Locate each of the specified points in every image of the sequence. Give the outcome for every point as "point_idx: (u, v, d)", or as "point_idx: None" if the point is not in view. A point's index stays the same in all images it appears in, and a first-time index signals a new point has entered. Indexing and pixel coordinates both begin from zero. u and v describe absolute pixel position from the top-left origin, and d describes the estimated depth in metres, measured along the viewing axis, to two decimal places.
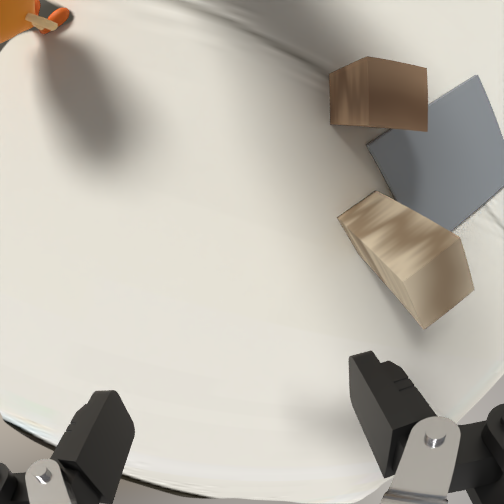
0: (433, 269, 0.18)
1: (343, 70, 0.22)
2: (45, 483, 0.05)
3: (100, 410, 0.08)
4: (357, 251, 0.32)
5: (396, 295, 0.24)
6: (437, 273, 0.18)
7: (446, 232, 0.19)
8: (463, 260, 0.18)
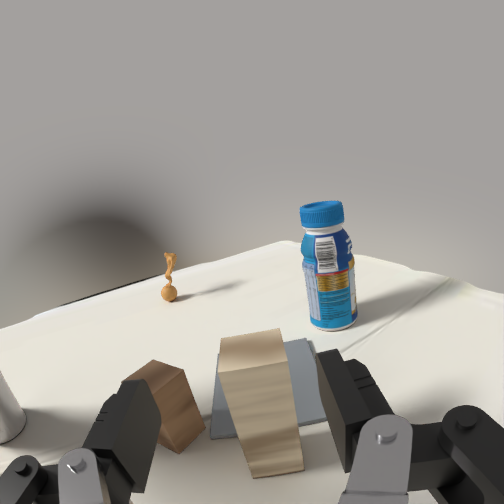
0: (228, 354, 0.24)
1: None
2: (81, 473, 0.05)
3: (132, 398, 0.09)
4: (298, 470, 0.25)
5: (288, 406, 0.23)
6: (234, 352, 0.24)
7: None
8: (241, 336, 0.26)
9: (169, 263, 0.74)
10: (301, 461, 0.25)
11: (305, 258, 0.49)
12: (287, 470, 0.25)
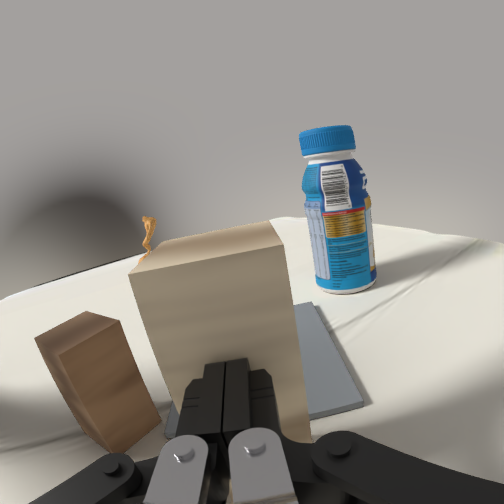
0: (164, 252, 0.12)
1: (63, 395, 0.19)
2: (195, 462, 0.06)
3: (222, 380, 0.09)
4: None
5: (288, 368, 0.11)
6: (176, 249, 0.12)
7: None
8: (198, 235, 0.14)
9: (147, 228, 0.62)
10: None
11: (308, 196, 0.38)
12: None
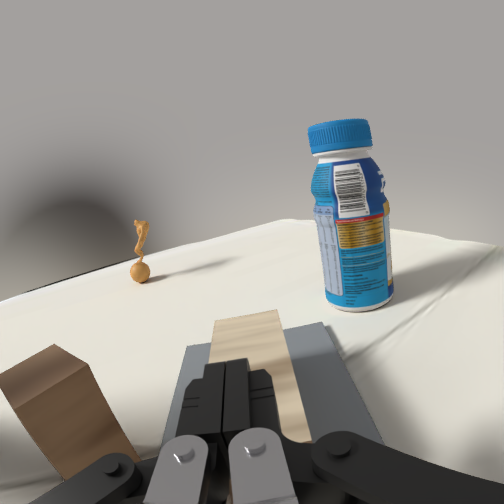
0: None
1: None
2: (194, 462, 0.06)
3: (222, 380, 0.09)
4: (297, 441, 0.12)
5: (277, 338, 0.21)
6: None
7: None
8: None
9: (139, 233, 0.57)
10: (302, 417, 0.13)
11: (318, 200, 0.32)
12: None
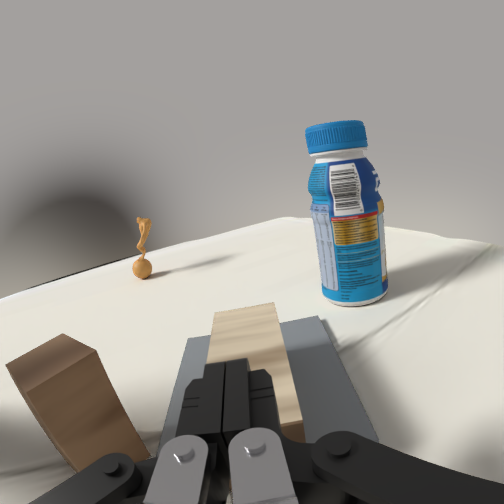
0: None
1: (41, 425, 0.15)
2: (194, 462, 0.06)
3: (222, 380, 0.09)
4: (289, 420, 0.13)
5: (273, 328, 0.22)
6: None
7: None
8: None
9: (142, 230, 0.59)
10: (294, 399, 0.14)
11: (315, 198, 0.34)
12: None
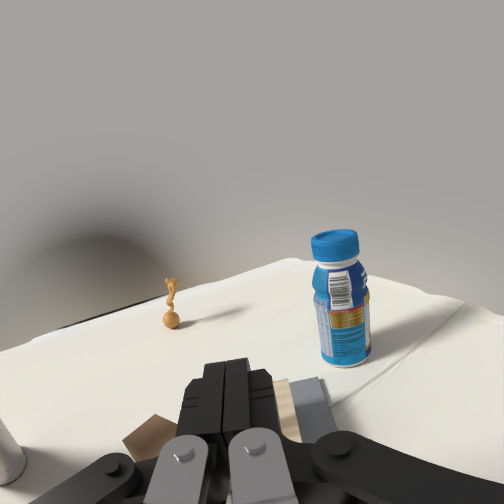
0: None
1: None
2: (194, 462, 0.06)
3: (222, 380, 0.09)
4: None
5: (288, 401, 0.33)
6: None
7: None
8: None
9: (170, 289, 0.70)
10: None
11: (317, 293, 0.45)
12: None
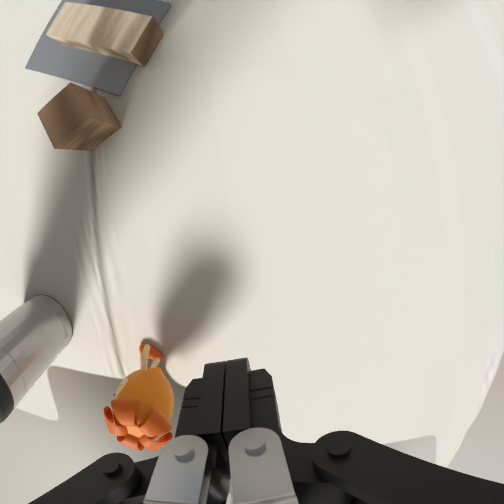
0: None
1: (78, 148, 0.31)
2: (194, 462, 0.06)
3: (222, 380, 0.09)
4: (148, 20, 0.26)
5: (87, 7, 0.25)
6: None
7: None
8: None
9: None
10: (140, 15, 0.26)
11: None
12: (142, 27, 0.27)
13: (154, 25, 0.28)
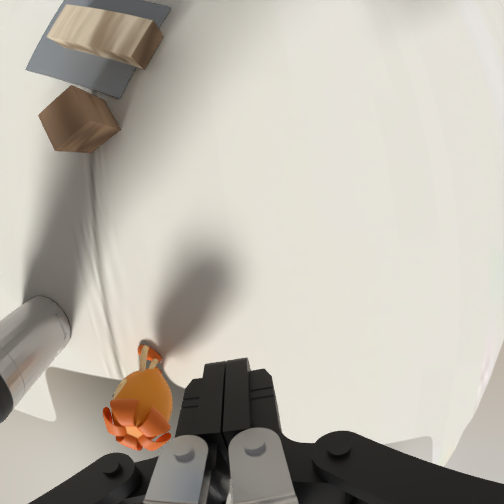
0: None
1: (78, 150, 0.32)
2: (194, 462, 0.06)
3: (222, 380, 0.09)
4: (149, 24, 0.27)
5: (88, 10, 0.26)
6: None
7: (69, 48, 0.31)
8: None
9: None
10: (140, 18, 0.27)
11: None
12: (142, 30, 0.27)
13: (154, 29, 0.28)
